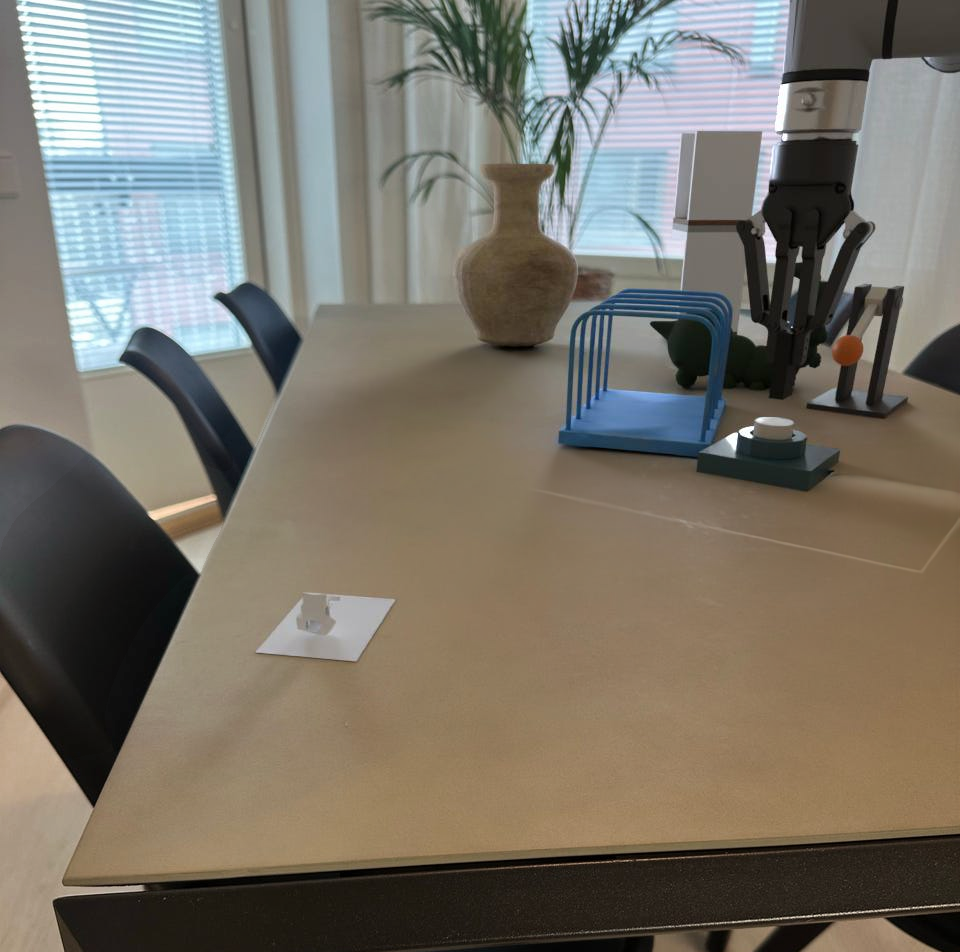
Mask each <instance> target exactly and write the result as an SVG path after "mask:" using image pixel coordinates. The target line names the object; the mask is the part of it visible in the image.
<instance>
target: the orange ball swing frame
mask: <svg viewBox="0 0 960 952" xmlns="http://www.w3.org/2000/svg"><path fill="white" fill-rule="evenodd" d="M872 287H873V284H872V283H863V284H859V285H856V286H854V290H853V295H852V297H851V301H850V304H851V307H850V312H849V317H848V323H847V329H846V335H851V333H852V332H853V330H854V328H855V327H856V325H857V323H858V322H859V320H860V318H861V317H862V315H863V313H864V308H865V298H866V296H867V294H868V293H869V291H870V289H871V288H872ZM888 288H889V289H888V290H887V295H886V300H885V306H884V311H883V315H882V316H881V322H880V328H879V331H878V338H877V342H876V348H875V353H874V357H873V358H874V359H873V362H872V363H873V364H872V369H871V374H870V379H869V383H868V389H867V391H865V390H855V389H854V385H855V383H854V382H855V378H856V373H857V368H858V363H859V360H858V361H857V362H856V363H854V364H852V365H849V366H843V365H840V368H839V375H838V380H837V386H836V387H833V388H831V389H829V390H828V391H826V392H824V393H822V394H821V395H818V396H817V397H816V398H815V397H814V399H812V400H810V401H808V402H807V403H806V405H805V407H806V408H805V409H806V410H807V409H808V410H814V411H822V412H829V413H837V414H844V415H852V416H859V417H866V418H867V417H868V418H873V419H881V420H885V419H886V418H888V417H890V416H891V415H892V414H893V413H895V412H896V411H897V410H899V409H900V408H901V407H902V406H904V405H905V404H907V403H908V401H909V396H907V395H898V394H889V393H884V390H885V386H886V380H887V376H888V370H889V367H890V360H891V356H892V351H893V346H894V342H895V337H896V331H897V326H898V321H899V316H900V311H901V309H902V307H903V304H904V291H905V286H904V285H894V286H892V287H888ZM846 335H845V336H846ZM862 341H863V337H862V338H861V342H862Z"/></svg>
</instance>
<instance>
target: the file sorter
mask: <svg viewBox="0 0 960 952" xmlns="http://www.w3.org/2000/svg"><path fill="white" fill-rule="evenodd" d="M680 295H692V296H680ZM700 296H710V297H700ZM712 297H717V298H720V299H721V300H723V301H724V302H725V303H726V305H727V307H728V311H727V309H726V307H725V305H724V304H723V303H722V302H721V301H719V300H718V299H716V298H712ZM679 300H682V301H679ZM690 301H700V302H690ZM705 302H711V303H714V304H716V305H717V306H719V307H720V308H721V310H722V311H723V313H722V312H721V310H720V309H719V308H718V307H716V306H715V305H713V304H711V303H705ZM679 306H687V307H679ZM689 307H702V308H709V309H711V310H713V311H714V312H716V313H717V315H718V316H719V318H720V322H721V326H720V323H719V321H718V319H717V318H716V316H715V315H714V314H713V313H711V312H710V311H708V310H705V309H701V308H689ZM678 312H681V313H696V314H703V315H706V316H707V317H709V318H710V319H711V320H712V321H713V322H714V324H715V327H716V330H715V328H714V326H713V325H712V324H711V323H710V322H709V321H708V320H707V319H705V318H704V317H701V316H698V315H689V314H678ZM728 313H729V314H728ZM723 314H724V315H723ZM605 316H607V317H608V319H607V328H606V329H607V330H606V343H605V354H604V355H605V356H604V368H603V381H602V382H603V383H602V388H601V371H602V357H603V348H604V347H603V344H604V332H605V331H604V330H605ZM590 317H591V323H590V334H589V335H590V336H589V350H588V366H587V367H588V368H587V384H586V400H585V401H586V402H585V403H584V404H583V405H582V399H583V381H584V365H585V364H584V361H585V360H584V359H585V341H586V330H587V322H588V320H589V318H590ZM598 317H599V322H598V323H599V327H598V338H597V339H598V340H597V353H596V354H597V356H596V371H595V388H594V390H595V391H594V394H593V395H592V389H593V388H592V387H593V373H594V356H595V355H594V354H595V343H596V332H597V319H598ZM614 317H631V318H632V317H633V318H649V319H650V318H651V319H668V320H678V319H681V320H694V321H699V322H701V323H703V324H704V325H706V326H707V327H708V329H709V330H710V332H711V335H712V350H711V359H710V367H709V375H707V376H708V377H707V384H706V393H705V396H703V395H702V396H701V395H690V394H676V393H665V392H664V393H662V392H650V391H637V390H623V389H622V390H621V389H610V388H608V381H609V368H610V367H609V366H610V355H611V343H612V342H611V341H612V330H613V329H612V328H613V319H614ZM732 317H733V309H732V305H731V303H730V301H729V300H728V298H726V297H725V296H724V295H722V294H720V293H716V292H703V291H685V290H681V289H663V288H662V289H661V288H634V287H632V288H631V287H630V288H629V287H628V288H625V289H623V290H620V291H619V292H617V293H616V294H614V295H612V296H610V297H609V298H608V299H606V300H604V301H602V302H600V303H599V304H597V305H595V306H593V307H591V308H590V309H589V310H588V311H585V312H584V313H582V314H580V315H579V316H578V317H577V318H576V319H575V321H574V322H573V324H572V326H571V330H570V337H569V350H568V351H569V352H568V369H567V370H568V371H567V389H566V390H567V391H566V412H565V414H566V415H565V424H564V425H563V426H562V427H561V428H560V429H559V430H558V437H557V443H558V444H559V445H564V446H573V447H582V448H583V447H584V448H592V447H593V448H603V449H615V450H624V451H635V452H645V453H646V452H647V453H655V454H668V455H674V456H678V457H679V456H680V457H681V456H682V457H689V458H698V454H699V452H700V451H702V450H704V449H705V448H707V447H709V446H711V445H713V444H714V441H715V438H716V436H717V432H718V430H719V427H720V424H721V421H722V418H723V415H724V412H725V410H726V406H727V398H725V397H722V395H723V389H724V388H723V383H724V376H725V369H726V361H727V354H728V347H729V340H730V333H731V325H732ZM579 325H580V331H579V333H580V334H579V349H578V370H577V389H576V391H577V392H576V412H575V414H573V415H572V411H573V410H572V407H573V391H574V390H573V389H574V369H575V353H576V351H575V349H576V336H577V330H578V327H579Z"/></svg>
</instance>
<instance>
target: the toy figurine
mask: <svg viewBox="0 0 960 952" xmlns="http://www.w3.org/2000/svg"><path fill="white" fill-rule="evenodd" d="M801 266H802V261H800V262H796V265H795V272H794V278H796V279H798V280H800V274H801ZM821 280H822V274H820V281H819V287H818V294H817V301H816V308H815V312H816V310H817V307H818V305H819V302H820V299H821V297H822V294H823V292H824V289H825V287H826V284H827V281H825V280H824V281H821ZM705 310H708V311H710V312H711V313H713V314H714V315H715V316H716V318H717V319H718V321H719V323H720V326H721V322H720V318H719V316H718V315H717V313H716V312H714V311H713V310H709V309H705ZM686 314H689V315H698V316H701V317H704V318H705V319H707V320H708V321H709V322H710V323H711V324H712V325H713V326H714V328H715V330H716V327H715V324H714V322H713V321H712V320H711V319H710V318H709V317H707V316H706V315H703V314H696V313H686ZM814 315H815V314H814ZM649 326H650V327H651V328H652V329H654V331H656V332H657V333H658V334H659V335H660V336H661V337H662V338H664V339H665V341H666V342H667V345H666V346H667V353H668V356H669V358H670V361H671V363H672V364H673V366H674V367H675V368H676V369H677V371H676V373H675V382H676V383H677V384H678V386H680V387H683V388H690V387H692V386H694V385H695V384H696V383H697V380H698V377H702V378H703V377H707V376H709V367H710V359H711V350H712V335H711V332H710V330H709V329H708V327H707V326H706V325H704V324H703V323H701V322H699V321H694V320H681V319H675V320H651V321H650V322H649ZM827 340H828V331H827V328H826V325H825V326H823V327H820V328H816V329H813V330H812V331H811V333H810V338H809V345H808V352H807V358H806V361H805V362H804V364H803V365H800V366H796V368H795V375H794V382H793V387H794V386H795V385H796V380H797V375H798V373H799V372H800V370H801V369H804V368H806V367H809V368H812V369H816V368H818V367H820V365H821V363H822V355H821V353H820V352H818V347H819V345H822V344H824V343H826V342H827ZM765 353H766V345H764V344H759V345H756V344H755V343H754V342H753V341H752V339H750V338H749V337H748V336H744V335H742V334H741V335H740V334H737V335H734V333H733V330H732V327H731V333H730V340H729V347H728V354H727V361H726V369H725V376H724V383H723V389H724V390H725V389H727V390H730V389H732V388H733V387H734V386H735V385H736V384H740V383H742V384H743V385H745V386H746V387H748V389H749V390H750V391H755V392H761V391H764V389H766V388H770V384H771V377H772V369H773V363H766V360H765Z"/></svg>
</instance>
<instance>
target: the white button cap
mask: <svg viewBox="0 0 960 952" xmlns="http://www.w3.org/2000/svg"><path fill="white" fill-rule="evenodd" d="M754 419H755V420H754V423H753V426H754V429H753V436H756V437H758V438H765V439H773V440H785V439H792V433H793V429H794V426H795V422H794V420H791V419H788V418H784V417H777V416H762V417H758V418H754Z"/></svg>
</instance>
